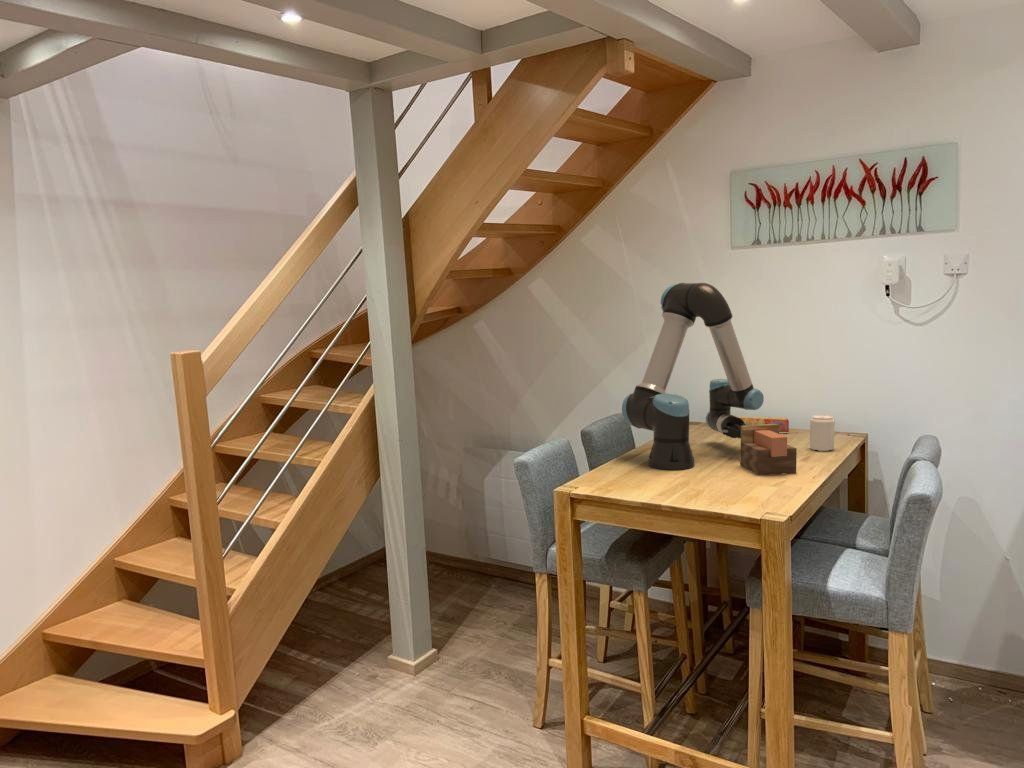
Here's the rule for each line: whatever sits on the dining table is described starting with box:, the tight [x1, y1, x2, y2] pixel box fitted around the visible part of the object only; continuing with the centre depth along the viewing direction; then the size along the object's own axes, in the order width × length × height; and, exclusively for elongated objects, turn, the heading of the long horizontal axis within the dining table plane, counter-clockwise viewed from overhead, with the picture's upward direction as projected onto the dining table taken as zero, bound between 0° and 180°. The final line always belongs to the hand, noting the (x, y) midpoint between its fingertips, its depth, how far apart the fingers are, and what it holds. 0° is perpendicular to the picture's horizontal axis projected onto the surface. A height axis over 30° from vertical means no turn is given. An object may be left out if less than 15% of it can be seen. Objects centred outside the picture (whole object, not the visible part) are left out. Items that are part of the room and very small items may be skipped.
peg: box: [753, 429, 788, 457], centre depth 259 cm, size 14×5×6 cm, turn 8°
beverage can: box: [809, 414, 836, 452], centre depth 287 cm, size 8×8×12 cm
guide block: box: [740, 424, 798, 476], centre depth 260 cm, size 14×12×14 cm
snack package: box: [734, 414, 790, 433], centre depth 323 cm, size 21×7×7 cm, turn 76°
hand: (761, 438), depth 266 cm, fingers closed
